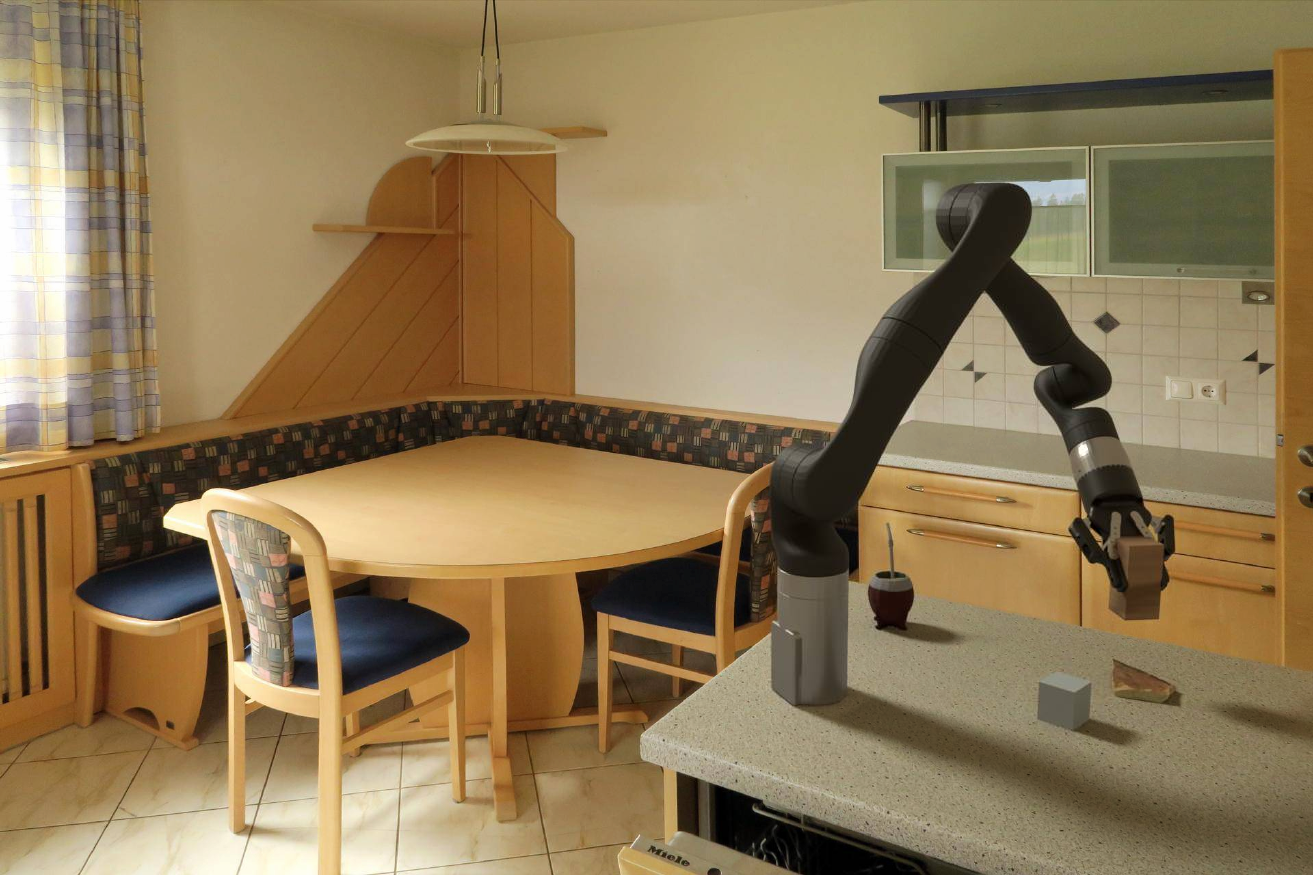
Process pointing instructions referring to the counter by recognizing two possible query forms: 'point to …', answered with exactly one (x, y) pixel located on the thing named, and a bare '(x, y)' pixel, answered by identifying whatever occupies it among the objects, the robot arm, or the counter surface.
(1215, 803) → the counter surface
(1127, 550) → the walnut block
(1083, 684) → the grey-blue block
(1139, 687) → the shard
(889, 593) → the mate gourd
